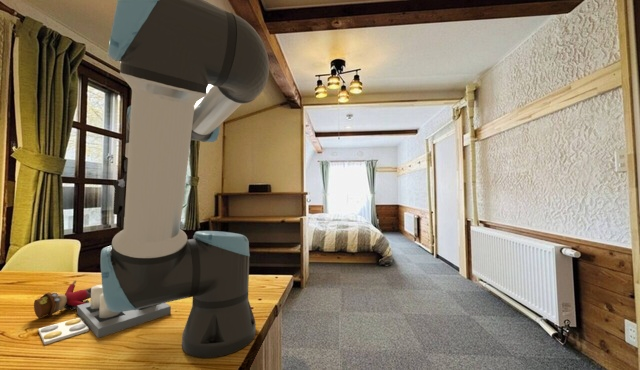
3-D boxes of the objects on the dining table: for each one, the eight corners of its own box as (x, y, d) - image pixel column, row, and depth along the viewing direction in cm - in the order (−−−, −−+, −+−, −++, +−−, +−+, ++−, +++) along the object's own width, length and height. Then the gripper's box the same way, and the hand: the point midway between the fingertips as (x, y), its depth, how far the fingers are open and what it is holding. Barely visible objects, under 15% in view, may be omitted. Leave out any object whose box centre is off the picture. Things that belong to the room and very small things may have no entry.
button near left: (122, 313, 64) (123, 292, 64) (101, 319, 61) (102, 297, 61) (117, 309, 66) (118, 289, 66) (97, 314, 63) (98, 293, 63)
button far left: (112, 305, 69) (113, 286, 69) (92, 310, 65) (93, 290, 66) (107, 301, 71) (108, 282, 71) (88, 306, 68) (89, 286, 68)
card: (88, 331, 60) (88, 327, 60) (44, 344, 54) (44, 341, 54) (79, 319, 65) (79, 316, 65) (38, 331, 60) (38, 327, 60)
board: (170, 313, 69) (170, 306, 69) (98, 338, 57) (98, 328, 57) (141, 296, 81) (141, 289, 81) (76, 313, 69) (77, 305, 69)
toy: (118, 291, 76) (49, 315, 62) (111, 308, 77) (42, 335, 64) (99, 266, 80) (30, 284, 66) (93, 283, 81) (24, 304, 68)
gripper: (178, 162, 81) (176, 236, 80) (115, 160, 79) (112, 237, 78) (168, 158, 74) (165, 240, 73) (98, 156, 71) (94, 242, 70)
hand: (138, 239), depth 75 cm, fingers open, 5 cm apart
